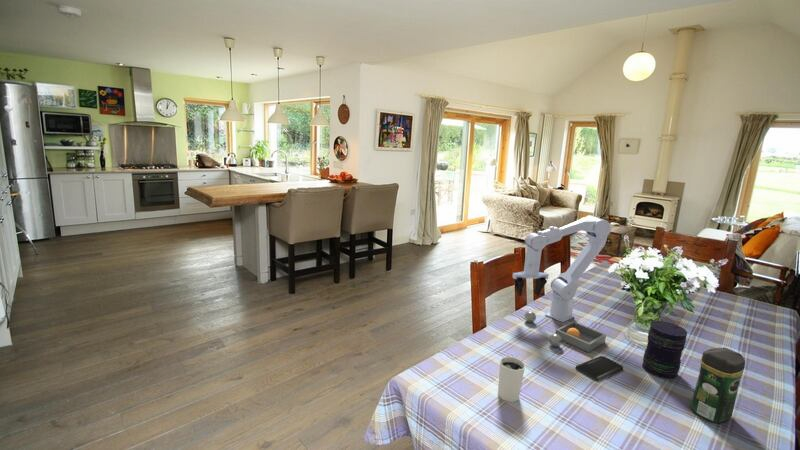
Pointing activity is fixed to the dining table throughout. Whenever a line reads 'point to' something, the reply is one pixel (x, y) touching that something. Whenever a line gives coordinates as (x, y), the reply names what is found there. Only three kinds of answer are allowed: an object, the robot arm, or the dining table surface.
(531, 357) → the dining table surface
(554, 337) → the steel ball
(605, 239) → the robot arm
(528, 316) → the steel ball
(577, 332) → the orange ball
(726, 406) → the coffee jar
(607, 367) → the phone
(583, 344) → the bin
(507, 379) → the white cup
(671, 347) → the storage jar
